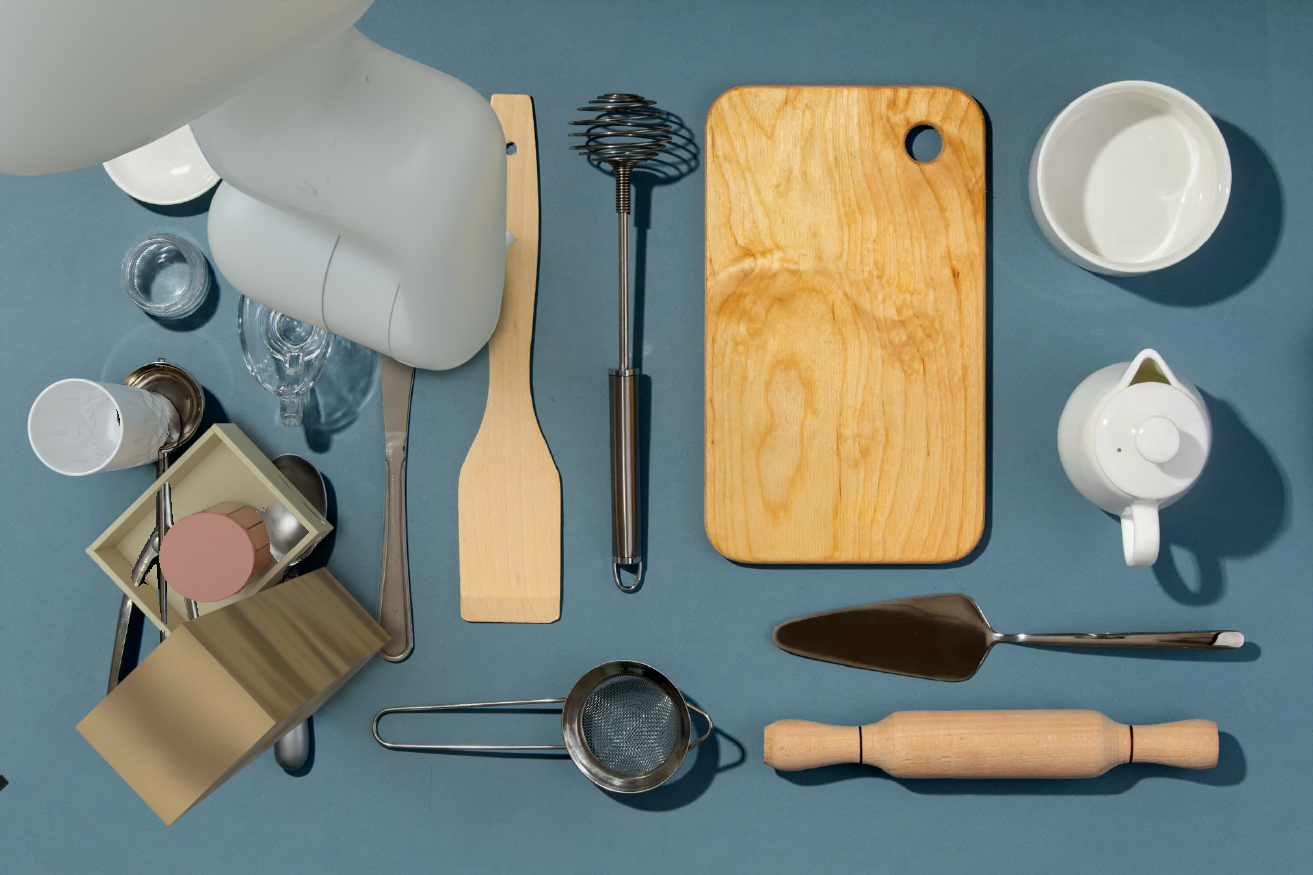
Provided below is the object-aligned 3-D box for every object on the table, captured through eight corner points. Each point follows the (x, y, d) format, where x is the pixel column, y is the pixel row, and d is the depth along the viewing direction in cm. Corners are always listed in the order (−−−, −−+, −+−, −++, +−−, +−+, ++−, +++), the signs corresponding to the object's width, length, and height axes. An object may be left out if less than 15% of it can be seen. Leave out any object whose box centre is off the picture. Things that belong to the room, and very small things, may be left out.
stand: (324, 566, 85) (181, 623, 61) (392, 638, 85) (276, 723, 61) (246, 641, 85) (74, 727, 61) (314, 713, 85) (168, 827, 61)
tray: (234, 423, 85) (214, 423, 81) (334, 527, 85) (318, 532, 81) (109, 545, 85) (84, 550, 82) (208, 649, 85) (187, 659, 82)
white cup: (192, 387, 85) (127, 383, 75) (185, 473, 85) (118, 480, 75) (108, 379, 85) (31, 373, 75) (100, 465, 85) (23, 470, 75)
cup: (273, 550, 78) (292, 537, 84) (198, 494, 77) (222, 485, 83) (215, 620, 78) (238, 602, 84) (139, 565, 77) (167, 551, 83)
